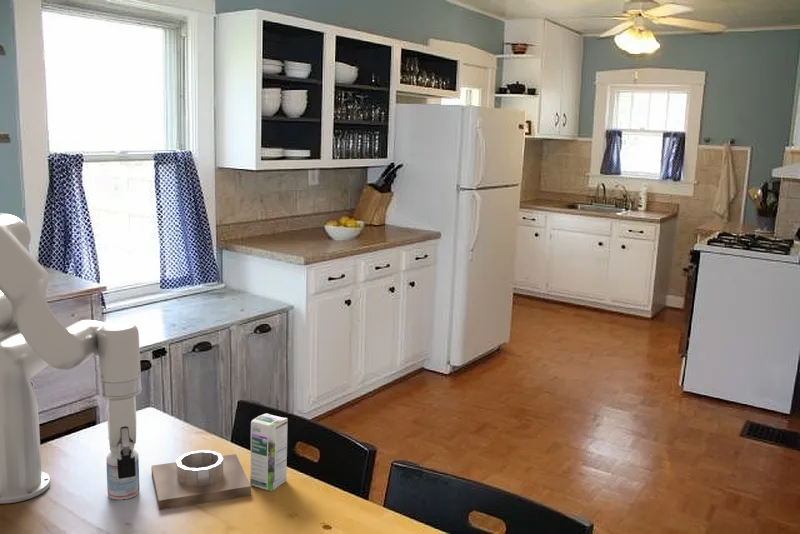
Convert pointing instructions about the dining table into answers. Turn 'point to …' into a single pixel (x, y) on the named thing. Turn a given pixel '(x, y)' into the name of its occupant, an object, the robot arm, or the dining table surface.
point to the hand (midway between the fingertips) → (125, 466)
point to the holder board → (182, 495)
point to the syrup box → (268, 451)
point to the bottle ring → (200, 476)
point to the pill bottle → (123, 486)
